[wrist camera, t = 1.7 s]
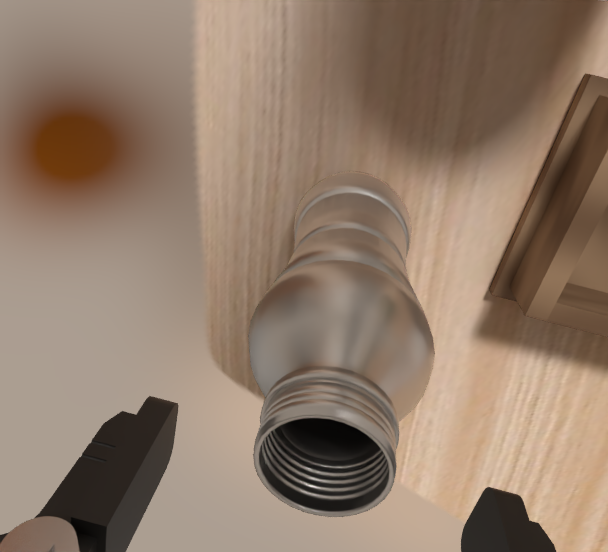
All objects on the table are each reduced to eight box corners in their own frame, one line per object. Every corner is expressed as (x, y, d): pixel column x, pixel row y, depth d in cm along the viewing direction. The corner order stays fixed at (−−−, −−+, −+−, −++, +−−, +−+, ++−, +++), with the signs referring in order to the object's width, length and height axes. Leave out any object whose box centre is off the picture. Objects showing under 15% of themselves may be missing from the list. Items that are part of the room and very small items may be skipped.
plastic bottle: (332, 141, 29) (260, 312, 11) (431, 199, 29) (515, 449, 11) (282, 231, 31) (158, 483, 14) (373, 281, 32) (369, 585, 14)
